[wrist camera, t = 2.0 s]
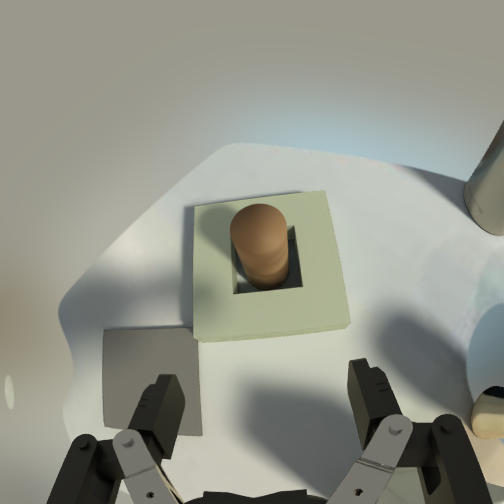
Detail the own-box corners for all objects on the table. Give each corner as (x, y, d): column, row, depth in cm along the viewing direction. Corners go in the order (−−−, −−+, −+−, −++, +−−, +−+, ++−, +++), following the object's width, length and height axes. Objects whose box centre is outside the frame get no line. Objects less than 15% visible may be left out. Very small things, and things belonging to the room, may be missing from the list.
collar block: (322, 205, 34) (324, 190, 31) (345, 328, 28) (350, 322, 25) (201, 220, 35) (194, 206, 32) (202, 342, 29) (193, 337, 26)
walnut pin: (286, 248, 32) (283, 200, 24) (291, 288, 30) (290, 249, 22) (245, 253, 33) (228, 207, 25) (247, 292, 31) (230, 256, 23)
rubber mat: (197, 328, 30) (195, 327, 29) (202, 435, 25) (200, 436, 24) (106, 331, 31) (104, 330, 30) (107, 426, 26) (104, 426, 25)
